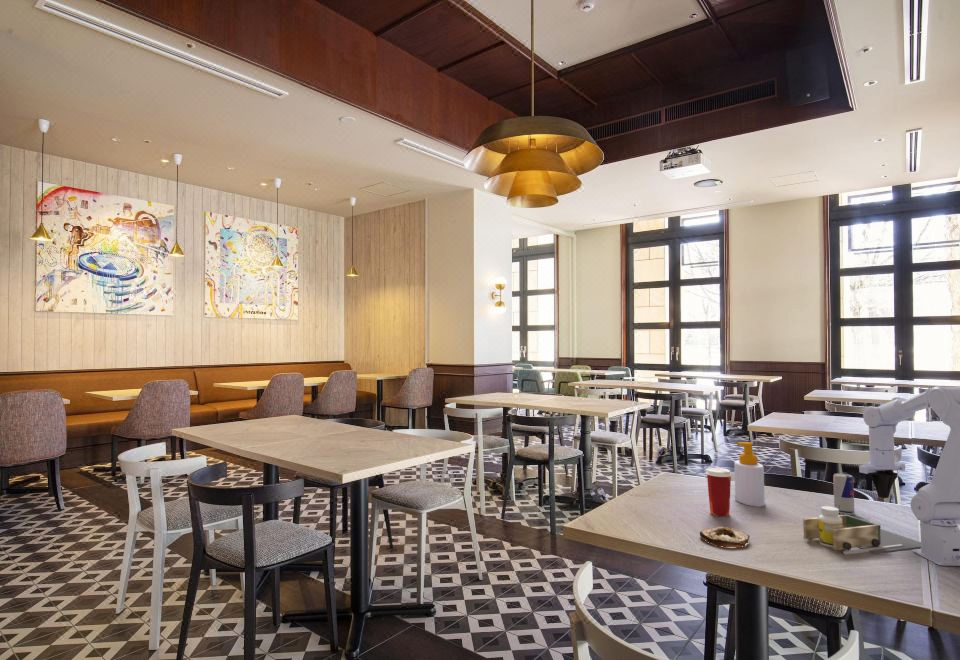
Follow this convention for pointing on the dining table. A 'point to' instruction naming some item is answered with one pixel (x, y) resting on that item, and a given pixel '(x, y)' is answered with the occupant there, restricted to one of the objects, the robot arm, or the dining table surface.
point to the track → (887, 544)
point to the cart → (847, 532)
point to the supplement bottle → (828, 524)
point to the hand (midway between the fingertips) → (883, 497)
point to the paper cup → (719, 490)
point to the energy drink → (844, 493)
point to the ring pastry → (725, 536)
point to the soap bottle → (749, 478)
